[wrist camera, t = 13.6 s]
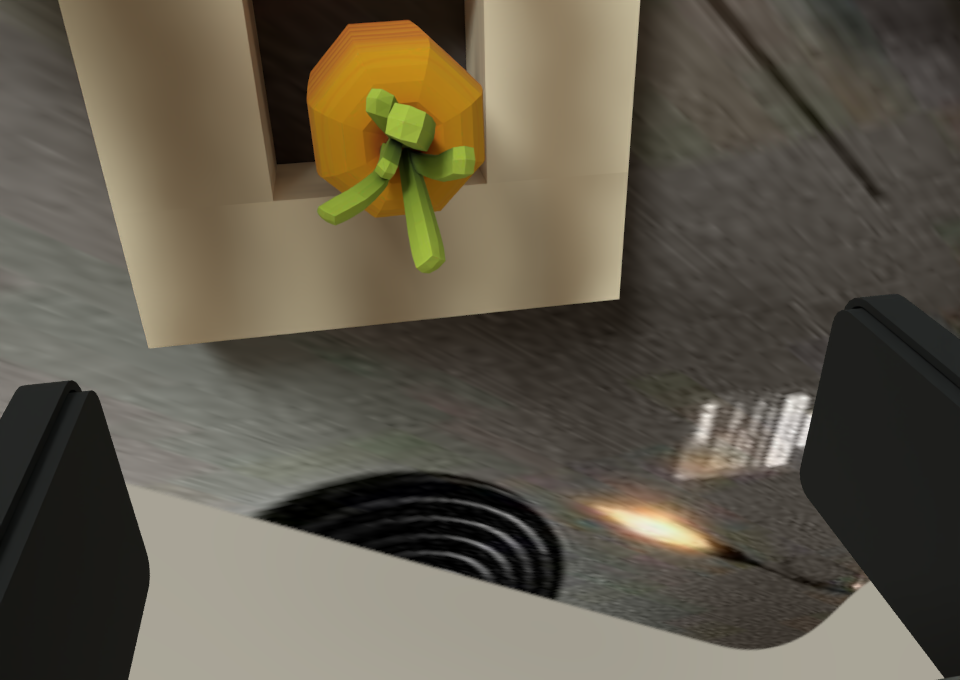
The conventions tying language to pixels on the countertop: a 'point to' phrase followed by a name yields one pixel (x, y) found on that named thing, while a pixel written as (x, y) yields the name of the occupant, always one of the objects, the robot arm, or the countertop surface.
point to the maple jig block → (300, 190)
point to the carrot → (394, 129)
